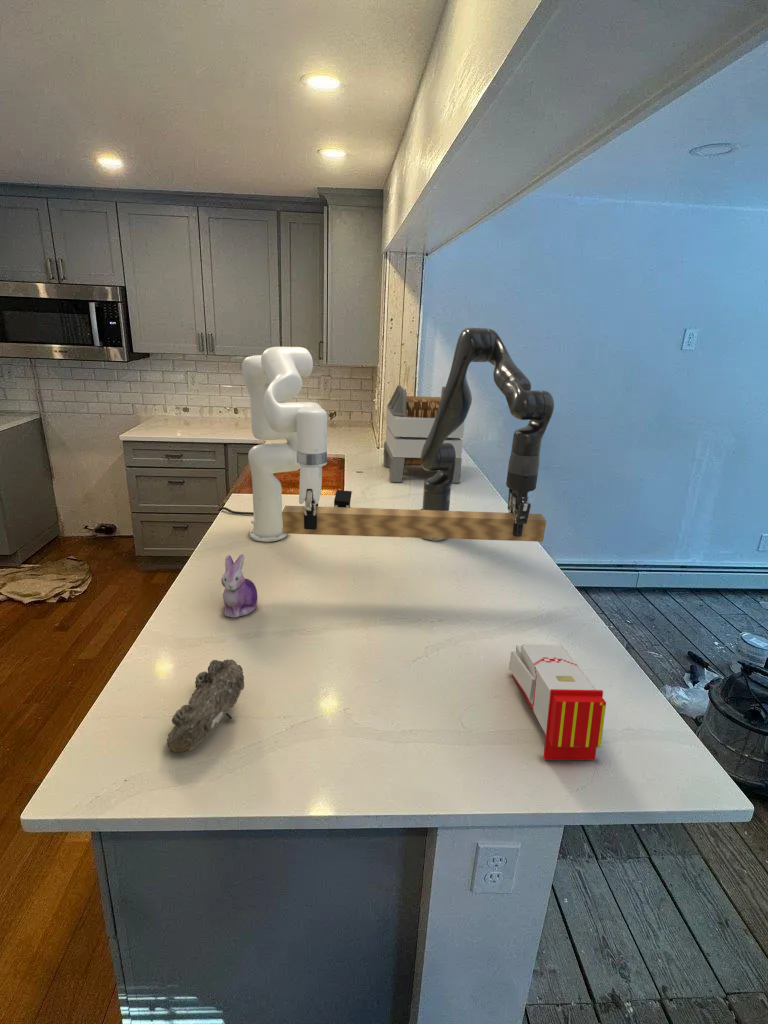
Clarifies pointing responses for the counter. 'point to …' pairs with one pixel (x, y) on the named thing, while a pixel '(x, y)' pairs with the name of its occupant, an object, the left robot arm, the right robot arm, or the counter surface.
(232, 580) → the figurine
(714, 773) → the counter surface
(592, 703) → the toy
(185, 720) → the fossil
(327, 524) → the beam
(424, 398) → the grey box with legs
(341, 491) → the figurine character
